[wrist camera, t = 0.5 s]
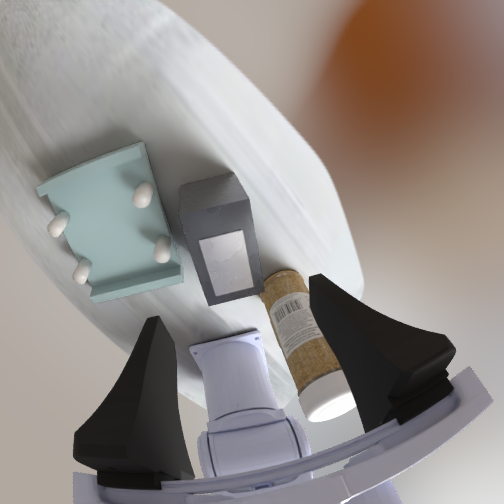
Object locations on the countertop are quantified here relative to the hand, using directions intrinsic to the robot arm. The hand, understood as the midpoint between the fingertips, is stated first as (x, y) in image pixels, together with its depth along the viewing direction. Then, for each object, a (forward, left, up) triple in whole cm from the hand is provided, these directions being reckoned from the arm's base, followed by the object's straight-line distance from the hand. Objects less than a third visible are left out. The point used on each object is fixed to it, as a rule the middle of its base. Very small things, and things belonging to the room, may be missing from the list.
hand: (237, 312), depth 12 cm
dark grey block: (0, 0, -10) cm, 10 cm away
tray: (+2, +8, -10) cm, 13 cm away
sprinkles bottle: (-9, -5, -11) cm, 14 cm away
